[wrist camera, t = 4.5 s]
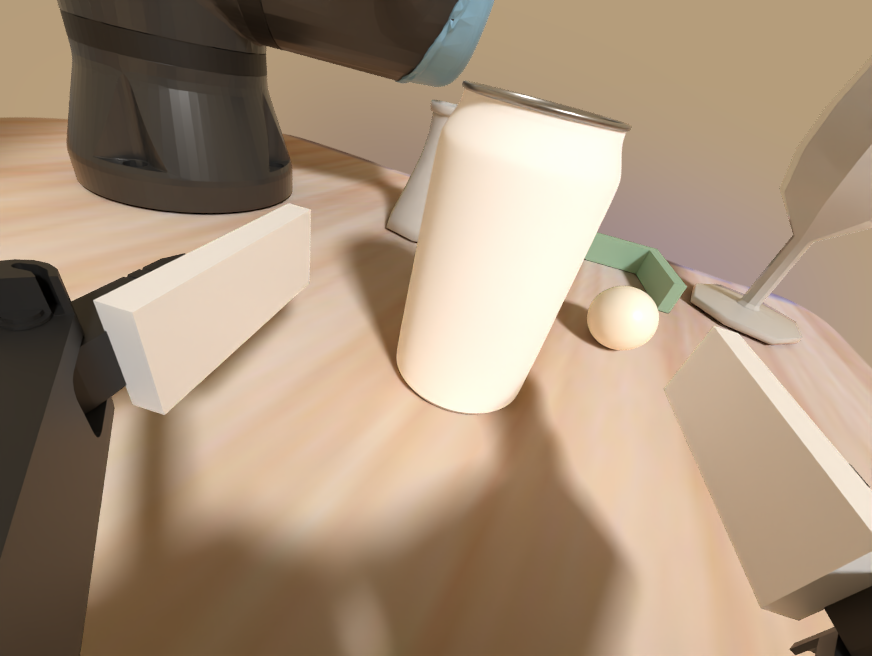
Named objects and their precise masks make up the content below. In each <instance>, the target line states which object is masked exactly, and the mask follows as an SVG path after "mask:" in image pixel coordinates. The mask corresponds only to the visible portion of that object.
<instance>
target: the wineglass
mask: <svg viewBox="0 0 872 656" xmlns="http://www.w3.org/2000/svg"><path fill="white" fill-rule="evenodd" d="M779 189H780V192H781V195H782V199H783V202H784V205H785V208H786V212H787V215H788V219H789V222H790V225H791V228H792V232H793V236H792V237H791V238H790V239H789V241H788V242H787V243H786V244H785V246H784V247H783V248H782V249H781V250H780V252H779V253H778V254H777V255H776V257H775V258H774V259H773V260H772V261H771V263H770V264H769V265H768V266H767V268H766V269H765V270H764V271H763V272H762V274H761V275H760V276H759V277H758V279H757V280H756V281H755V282H754V284H753V285H752V286H751V287H750V288H749V290H748V291H747V292H746V293H745V294H743V293H740V292H737V291H735V290H732V289H730V288H727V287H725V286H722V285H718V284H696V285H694V286H693V289H692V295H691V301H690V302H692V303H693V304H695V305H696V306H698V307H699V308H701V309H702V310H703V311H705V312H706V313H708V314H709V315H711V316H712V317H714V318H715V319H716V320H718V321H719V322H721V323H722V324H724V325H726V326H728V327H730V328H733V329H735V330H737V331H740V332H742V333H744V334H747V335H749V336H751V337H754V338H756V339H758V340H761V341H763V342H765V343H768V344H770V345H779V344H796V343H798V342H800V341H801V339H802V335H801V333H800V331H799V328H798V326H797V324H796V322H795V321H794V320H792V319H790V318H789V317H787V316H785V315H784V314H782V313H780V312H778V311H777V310H775V309H773V308H772V307H770V306H768V305H767V304H765V303H763V302H764V300H765V299H766V298H767V297H768V296H769V294H770V293H771V292H772V291H773V290H774V289H775V287H776V286H777V285H778V284H779V282H780V281H781V280H782V279H783V278H784V277H785V275H786V274H787V273H788V272H789V271H790V270H791V268H792V267H793V266H794V265H795V264H796V262H797V261H798V260H799V259H800V258H801V257H802V255H803V254H804V253H805V252H806V251H807V249H808V248H809V247H810V246H811V245H812V243H813V242H817V241H821V240H825V239H829V238H833V237H837V236H841V235H846V234H850V233H854V232H858V231H862V230H867V229H871V228H872V56H871V57H870V58H869V59H868V60H867V61H866V62H865V64H864V65H863V66H862V67H861V68H860V69H859V70H858V71H857V72H856V74H855V75H854V76H853V77H852V78H851V79H850V80H849V82H848V83H847V84H846V85H845V86H844V87H843V88H842V89H841V90H840V92H839V93H838V94H837V95H836V96H835V97H834V98H833V99H832V101H831V102H830V103H829V104H828V105H827V106H826V107H825V109H824V110H823V112H822V113H821V114H820V116H819V117H818V119H817V120H816V121H815V123H814V124H813V126H812V127H811V128H810V130H809V131H808V133H807V134H806V136H805V137H804V138H803V140H802V141H801V142H800V144H799V145H798V147H797V148H796V151H795V153H794V155H793V158H792V160H791V162H790V165H789V167H788V169H787V172H786V174H785V176H784V179H783V181H782V183H781V186H780V188H779Z"/></svg>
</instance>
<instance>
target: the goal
mask: <svg viewBox="0 0 872 656" xmlns="http://www.w3.org/2000/svg"><path fill="white" fill-rule="evenodd" d="M584 259H586V260H589V261H593V262H596V263H600V264H603V265H607V266H610V267H614V268H617V269H621V270H624V271H628V272H631V273H635V274H636V275H637V277H638V278H639V280H640V282H641V283H642V285H643V287H644V289H645V290H646V292H647V294H648V295H649V296H650V297H651V298H652V299H653V301H654V302H655V304H656V306H657V309H658V310H659V311H663V312H666V313H669V312H670V311H671V309H672V308H673V307H674V305H675V304H676V302H677V301H678V299H679V298H680V297H681V295H682V294H683V292H684V291H685V289H686V288H687V286H686V285H685V283H684V282H683V281H682V280H681V278H680V277H679V276H678V275H677V273H676V272H675V271H674V270H673V268H672V267H671V266H670V265H669V263H668V262H667V261H666V260H665V258H664V257H663V256H662V255H661V253H660V252H659V251H658V250H657V249H655V248H651V247H647V246H644V245H640V244H637V243H633V242H630V241H626V240H623V239H619V238H615V237H612V236H608V235H605V234H601V233H598V232H597V233H596V235H595V237H594V240H593V242H592V244H591V246H590V248H589V250H588V252H587V254H586V256H585V258H584Z"/></svg>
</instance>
